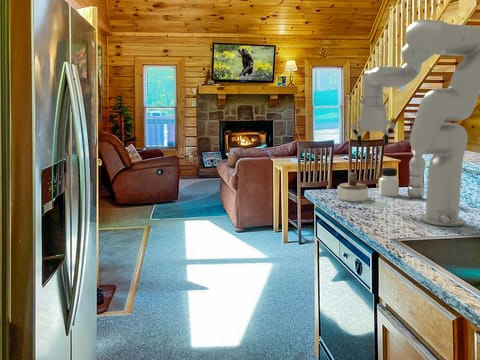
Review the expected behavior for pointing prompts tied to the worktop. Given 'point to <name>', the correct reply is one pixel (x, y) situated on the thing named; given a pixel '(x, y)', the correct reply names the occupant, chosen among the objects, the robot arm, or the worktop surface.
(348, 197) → the bowl
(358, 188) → the lid
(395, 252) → the worktop surface
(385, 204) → the mat
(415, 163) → the plastic bottle
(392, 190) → the medicine bottle
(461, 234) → the worktop surface
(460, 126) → the robot arm
